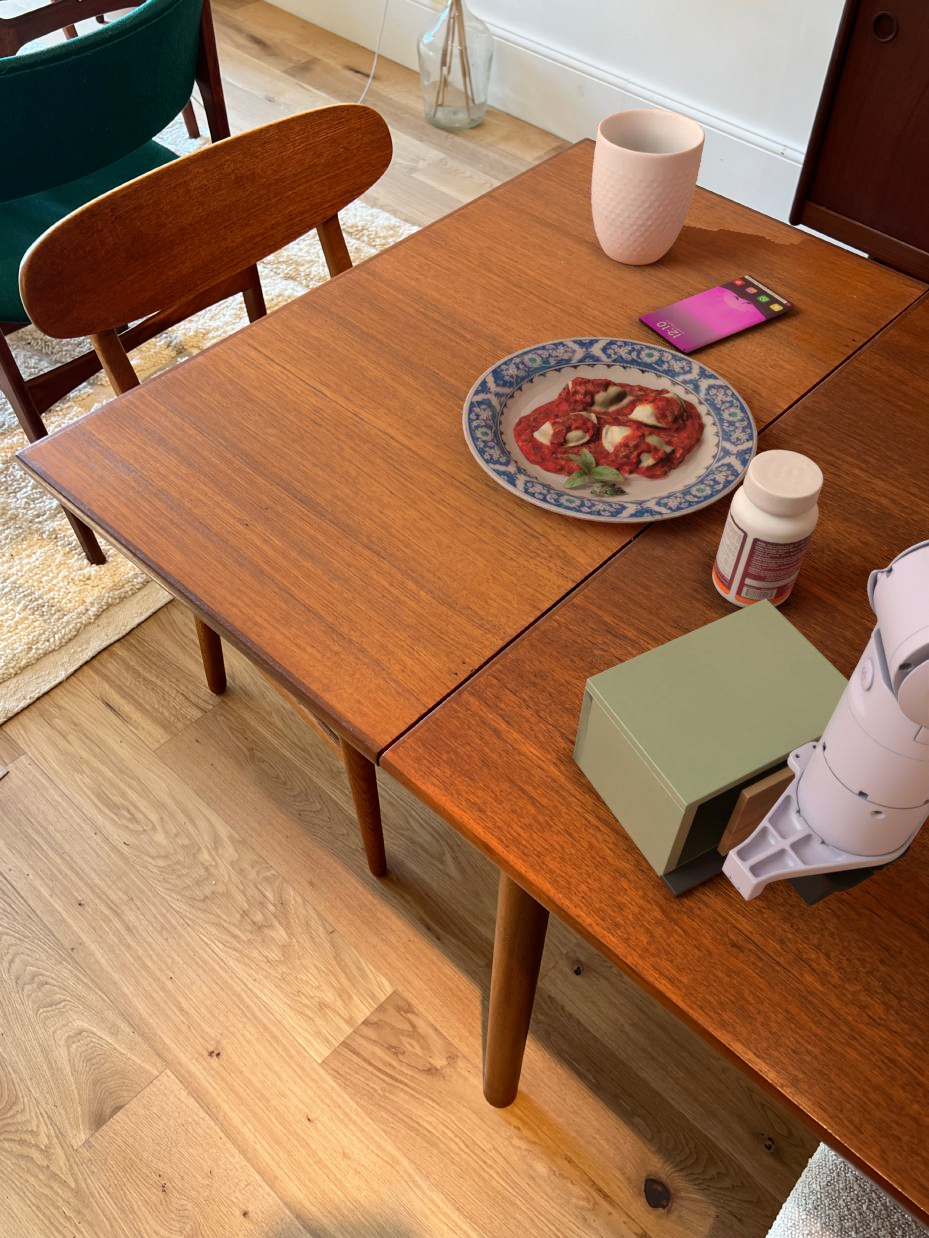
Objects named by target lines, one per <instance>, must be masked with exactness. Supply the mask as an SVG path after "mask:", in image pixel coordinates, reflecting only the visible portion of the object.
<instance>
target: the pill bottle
mask: <svg viewBox="0 0 929 1238" xmlns="http://www.w3.org/2000/svg"><path fill="white" fill-rule="evenodd" d="M823 485H824V474H823V471H822V470H821V468H820V467H819V465H818V464H817V463H815V462H814V461H813V460H812V459H811V458H810V457H807V456H806V455H804V454H801V453H798V452H796V451H792V450H788V449H787V450H786V449H771V450H767V451H766V450H765V451H763V452H760V453H759V454H756V455H755V457H754V458H753V460H752V461H751V463H750V465H749V468H748V471H747V474H746V475H745V476H744V478H743V484H742V485H740V486H739V488H738V489H737V490H736V491H735V493H734V495H733V497H732V500H731V503H730V507H729V510H728V514H727V518H726V521H725V524H724V528H723V530H722V531H723V532H722V535H721V539H720V542H719V546H718V548H717V549H718V550H717V551H716V552H717V553H716V555H715V560H714V563H713V567H712V582H713V584H714V587H715V589H716V590H717V591H718V593H719V594H720V595H721V596H722V597H723V598H724V599H725V600H726V601H728V602H730V603H732V604H734V605H735V606H737V607H740V608H742V609H743V608H746V607H748V606H750V605H752V604H754V603H757V602H759V601H761V600H763V599H767V600H768V601H769V602H770V603H771V604H772V605H773V606H774V607H775V608H776V607H777V606H779V605H781V604H782V603H784V602H785V601H786V600H787V599H788V597H790V595H791V592H792V590H793V587H794V585H795V583H796V579H797V577H798V574H799V573H800V570H801V566H802V563H803V560H804V558H805V555H806V553H807V550H808V547H809V545H810V542H811V539H812V537H813V534H814V531H815V529H816V527H817V523H818V521H819V505H818V503H817V502H818V500H819V497H820V493H821V491H822V488H823Z"/></svg>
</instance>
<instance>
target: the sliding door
mask: <svg viewBox="0 0 929 1238" xmlns="http://www.w3.org/2000/svg"><path fill="white" fill-rule="evenodd" d="M794 779H795V773H794V772H793V771H792V769H791V768H790V767H789V766H787V767H785V768H783V769H782V770H780V771H778V772H776V773H774V774H772V775H770V776H768V777H766V778H764V779H762V780H761V781H759V782H757V783H755V784H753V785H751V786H749V787H747V788H745V789H743V790H742V792H741V794H740V796H739V799H738V801H737V803H736V806H735V808H734V810H733V813H732V815H731V818H730V820H729V822H728V825H727V827H726V829H725V832H724V834H723V836H722V839H721V841H720V843H719V846H718V848H717V850H718V851H719V853H720V854H721V855H722V856H725V855H727V854H728V853H729V852H730V850H732V849H734V848H735V847H737V846H739V845H740V844H742V843H743V842H744V841H745V840H746V839H748V838H749V837H750V836H751V834H752V833H753V832H754V831H755V830H756V829H757V827H758V826H759V825H760V823H761V822H762V821H763V819H764V818H765V817H766V815H767V814H768V813H769V812H770V810H771V809H772V808H773V806H774V805H775V804H776V802H777V801H778V800H779V798H780V797H781V796H782V794H783V793H784V792H785V790H786V789H787V788H788V787H789V785H790V784H791V783H792V781H793V780H794Z"/></svg>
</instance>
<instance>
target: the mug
mask: <svg viewBox="0 0 929 1238" xmlns="http://www.w3.org/2000/svg"><path fill="white" fill-rule="evenodd" d="M705 140H706V134H705V131H704V129H703V127H702V126H701V125H700V124H699V123H698V122H696V121H695V120H693V119H691V118H689V117H687V116H685V115H682V114H679V113H676V112H673V111H669V110H663V109H657V108H655V109H654V108H634V109H626V110H621V111H618V112H615V113H612V114H610V115H608V116H606V117H604V118H603V119H602V120H601V121H600V122H599V124H598V126H597V131H596V139H595V146H594V147H595V148H594V154H593V163H592V176H591V189H590V193H591V197H590V198H591V199H590V200H591V202H590V203H591V213H592V220H593V221H592V223H593V226H594V231H595V234H596V238H597V240H598V242H599V245H600V246H601V248H602V250H603V252H604V253H605V254H606V256H607V257H609V258H610V259H611V260H613V261H615V262H617V263H620V264H624V265H629V266H645V265H649V264H653V263H655V262H657V261H658V260H660V259H661V258H662V257H664V256H665V255H666V254H667V252H669V250H670V248H671V247H672V246H674V244H675V242H676V240H677V239H678V237H679V235H680V233H681V231H682V229H683V226H684V224H685V221H686V220H687V215H688V214H689V212H690V209H691V204H692V201H693V200H694V199H693V197H694V194H695V191H696V187H697V181H698V176H699V171H700V168H701V163H702V158H703V150H704V146H705Z"/></svg>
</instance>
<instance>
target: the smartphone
mask: <svg viewBox="0 0 929 1238" xmlns="http://www.w3.org/2000/svg"><path fill="white" fill-rule="evenodd" d="M794 306H795V304H794V302H792V301H790V300H789V299H787V298H786V297H785V296H782V295H781V294H779V293H778V292H777V291H775V290H774V289H772V288H770V287H769V286H768V285H766V284H764V283H762V282H761V281H760V280H758V279H757V278H755V277H754V276H753V275H751V274H746V275H744V276H741V277H738V278H736V279H733V280H730V281H728V282H726V283H723V284H721V285H717V286H715V287H713V288H710V289H708V290H705V291H702V292H700V293H698V294H695V295H692V296H690V297H687V298H685V299H682V300H680V301H677V302H674V303H672V304H669V305H667V306H664V307H661V308H659V309H656V310H654V311H651V312H649V313H646V314H643V315H641V316H638V322H639V323H640V324H642V325H643V326H645V327H646V328H647V329H649V330H650V331H651V332H652V333H654V334H655V335H656V336H657V337H659V338H660V339H661V340H663V341H664V342H665V343H666V344H668V345H670V346H671V347H672V348H673V349H674V350H676V352H678V353H680V354H682V355H687V354H689V353H692V352H694V351H697V350H699V349H701V348H703V347H704V348H705V347H706V346H709V345H711V344H714V343H716V342H718V341H720V340H723V339H726V338H728V337H730V336H732V335H735V334H738V333H741V332H742V331H745V330H747V329H749V328H753V327H754V326H756V325H760V324H762V323H764V322H766V321H769V320H771V319H773V318H776V317H778V316H781V315H783V314H786V313H788V312H791V311H792V310H793V309H794Z"/></svg>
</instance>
